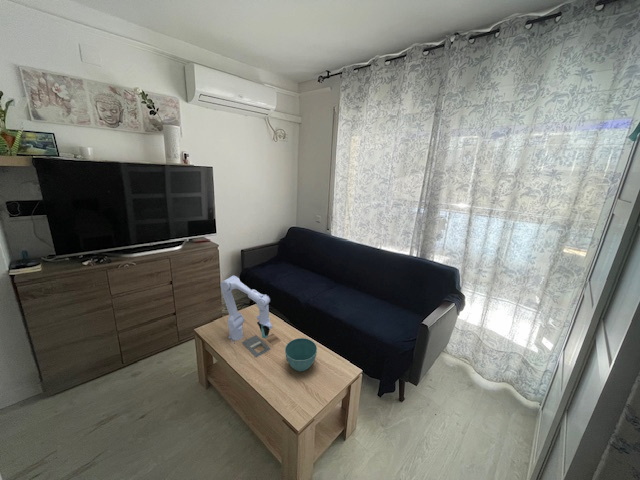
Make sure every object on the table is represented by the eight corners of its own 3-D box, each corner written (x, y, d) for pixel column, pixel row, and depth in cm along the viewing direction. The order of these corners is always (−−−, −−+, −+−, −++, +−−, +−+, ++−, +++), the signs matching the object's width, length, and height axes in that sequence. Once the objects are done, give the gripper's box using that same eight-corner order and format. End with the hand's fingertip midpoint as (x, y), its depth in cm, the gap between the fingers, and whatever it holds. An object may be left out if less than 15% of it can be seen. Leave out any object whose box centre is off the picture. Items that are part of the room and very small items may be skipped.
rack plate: (242, 345, 159) (242, 341, 158) (256, 338, 166) (256, 334, 165) (256, 359, 147) (256, 355, 147) (270, 351, 154) (270, 347, 153)
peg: (260, 335, 156) (260, 325, 153) (265, 333, 158) (265, 322, 156) (263, 338, 153) (263, 327, 151) (269, 336, 156) (269, 325, 153)
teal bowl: (310, 382, 133) (310, 364, 129) (279, 373, 138) (279, 355, 134) (320, 358, 150) (320, 341, 146) (292, 351, 155) (292, 335, 151)
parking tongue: (264, 339, 164) (264, 338, 164) (272, 335, 169) (272, 333, 169) (272, 347, 158) (272, 345, 157) (281, 342, 162) (281, 340, 162)
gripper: (276, 317, 149) (276, 336, 153) (263, 307, 159) (263, 325, 163) (266, 321, 144) (267, 341, 148) (253, 311, 154) (254, 330, 158)
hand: (264, 333), depth 155 cm, fingers closed on peg, 4 cm apart
